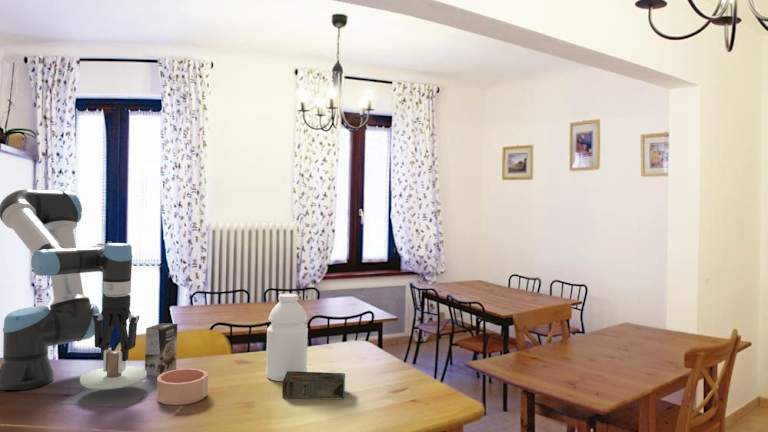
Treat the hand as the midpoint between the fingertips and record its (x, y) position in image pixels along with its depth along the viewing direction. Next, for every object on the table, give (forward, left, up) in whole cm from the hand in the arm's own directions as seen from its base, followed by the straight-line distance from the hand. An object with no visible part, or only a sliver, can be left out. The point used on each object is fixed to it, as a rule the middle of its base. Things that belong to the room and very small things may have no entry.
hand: (114, 370), depth 155 cm
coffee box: (+4, +21, -7) cm, 22 cm away
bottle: (+47, +24, -7) cm, 54 cm away
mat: (0, 0, -7) cm, 7 cm away
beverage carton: (+60, +8, -8) cm, 61 cm away
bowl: (+21, 0, -7) cm, 23 cm away
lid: (0, 0, -2) cm, 2 cm away
